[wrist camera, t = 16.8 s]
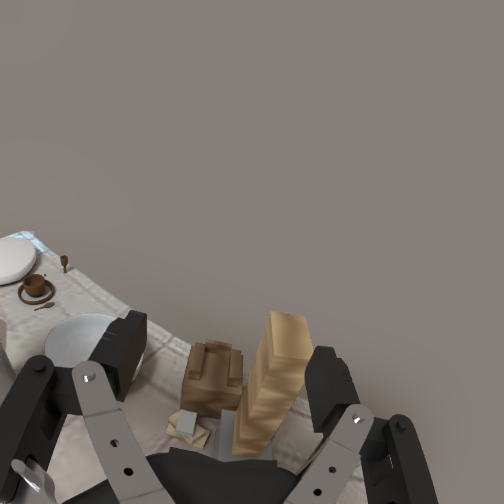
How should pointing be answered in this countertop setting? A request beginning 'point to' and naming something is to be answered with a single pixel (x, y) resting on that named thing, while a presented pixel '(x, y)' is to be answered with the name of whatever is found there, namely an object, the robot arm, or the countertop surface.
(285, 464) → the countertop surface
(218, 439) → the slate block
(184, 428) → the grey painted offcut
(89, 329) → the serving bowl
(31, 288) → the place setting
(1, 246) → the plate
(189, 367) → the walnut rack
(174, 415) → the pine offcut
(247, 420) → the oak board
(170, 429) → the pine offcut
